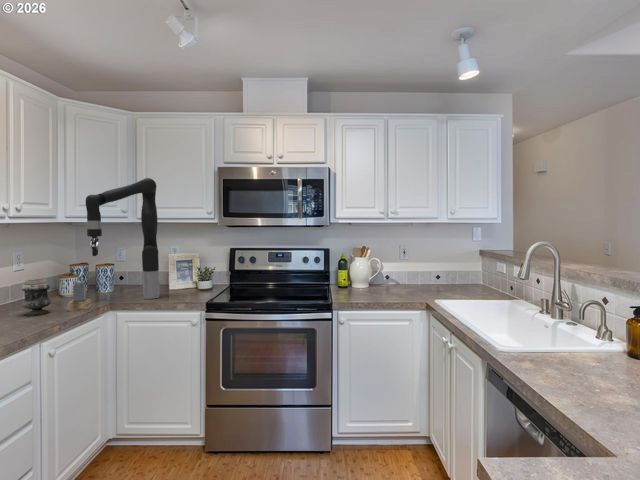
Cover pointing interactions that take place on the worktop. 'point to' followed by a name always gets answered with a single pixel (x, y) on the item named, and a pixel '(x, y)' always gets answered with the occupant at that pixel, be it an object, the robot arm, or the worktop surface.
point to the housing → (79, 292)
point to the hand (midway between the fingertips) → (95, 255)
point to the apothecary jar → (36, 296)
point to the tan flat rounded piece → (78, 305)
